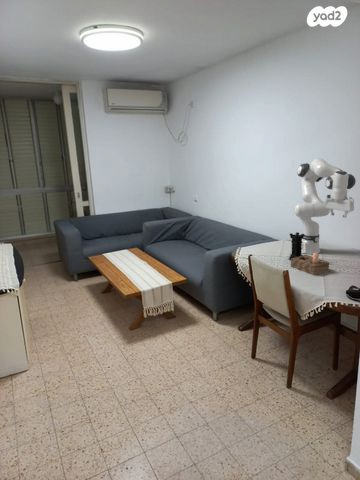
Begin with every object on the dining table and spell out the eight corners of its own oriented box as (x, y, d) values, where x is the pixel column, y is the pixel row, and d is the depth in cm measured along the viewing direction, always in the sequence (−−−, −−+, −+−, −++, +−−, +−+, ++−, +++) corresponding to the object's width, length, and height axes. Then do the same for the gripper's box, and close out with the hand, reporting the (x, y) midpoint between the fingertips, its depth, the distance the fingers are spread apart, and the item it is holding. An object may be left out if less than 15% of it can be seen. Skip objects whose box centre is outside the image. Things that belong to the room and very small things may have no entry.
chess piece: (296, 257, 250) (297, 232, 244) (304, 260, 242) (305, 234, 237) (288, 259, 247) (288, 233, 242) (295, 262, 240) (296, 236, 234)
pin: (311, 267, 222) (311, 253, 220) (314, 266, 224) (315, 252, 221) (315, 269, 219) (316, 255, 217) (319, 268, 221) (319, 253, 218)
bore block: (290, 266, 232) (291, 258, 231) (305, 262, 238) (305, 254, 237) (313, 275, 215) (313, 266, 213) (328, 270, 221) (329, 262, 219)
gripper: (357, 196, 211) (355, 218, 215) (330, 194, 229) (329, 213, 233) (350, 198, 208) (348, 219, 212) (323, 195, 226) (322, 214, 230)
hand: (338, 216), depth 223 cm, fingers open, 8 cm apart
